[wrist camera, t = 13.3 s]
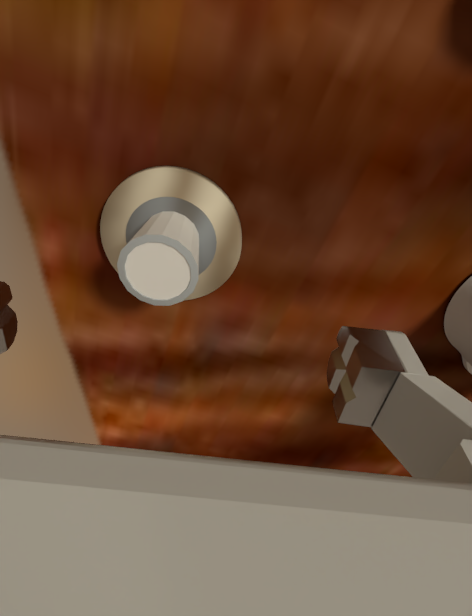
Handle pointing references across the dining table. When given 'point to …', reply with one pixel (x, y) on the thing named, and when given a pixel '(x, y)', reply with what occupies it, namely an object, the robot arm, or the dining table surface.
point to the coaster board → (184, 200)
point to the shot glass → (161, 260)
